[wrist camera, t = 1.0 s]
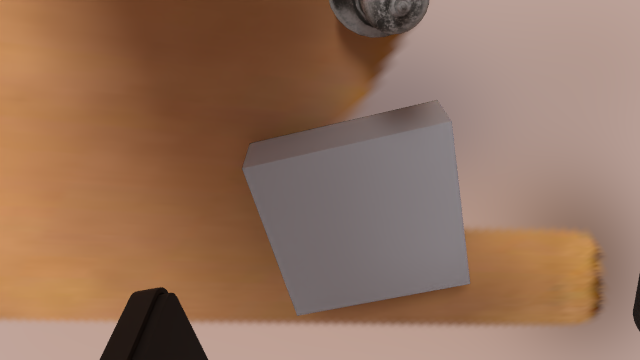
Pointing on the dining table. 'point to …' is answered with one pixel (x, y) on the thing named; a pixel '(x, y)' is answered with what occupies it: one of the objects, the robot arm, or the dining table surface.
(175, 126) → the dining table surface
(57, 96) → the dining table surface
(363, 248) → the stand
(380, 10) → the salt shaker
